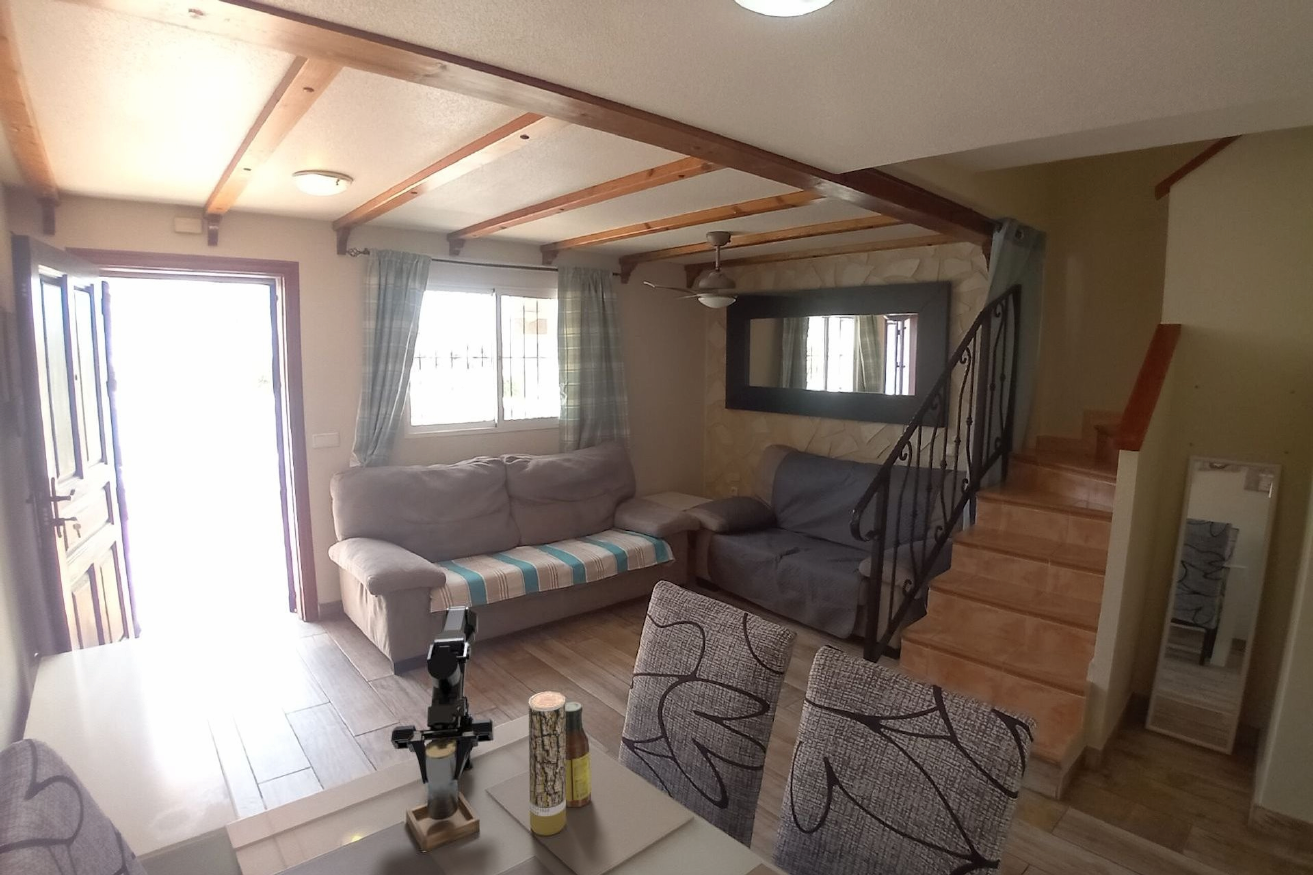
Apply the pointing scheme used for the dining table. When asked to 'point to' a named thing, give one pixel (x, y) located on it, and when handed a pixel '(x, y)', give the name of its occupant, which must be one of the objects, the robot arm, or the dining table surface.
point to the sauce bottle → (576, 758)
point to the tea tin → (441, 778)
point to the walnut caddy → (442, 825)
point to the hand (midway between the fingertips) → (440, 781)
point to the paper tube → (547, 762)
